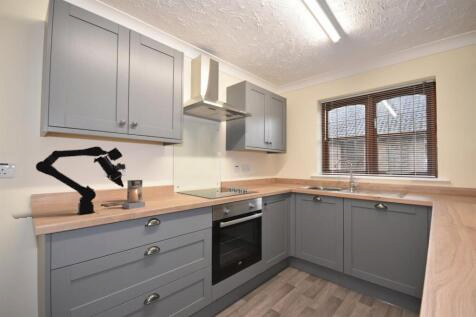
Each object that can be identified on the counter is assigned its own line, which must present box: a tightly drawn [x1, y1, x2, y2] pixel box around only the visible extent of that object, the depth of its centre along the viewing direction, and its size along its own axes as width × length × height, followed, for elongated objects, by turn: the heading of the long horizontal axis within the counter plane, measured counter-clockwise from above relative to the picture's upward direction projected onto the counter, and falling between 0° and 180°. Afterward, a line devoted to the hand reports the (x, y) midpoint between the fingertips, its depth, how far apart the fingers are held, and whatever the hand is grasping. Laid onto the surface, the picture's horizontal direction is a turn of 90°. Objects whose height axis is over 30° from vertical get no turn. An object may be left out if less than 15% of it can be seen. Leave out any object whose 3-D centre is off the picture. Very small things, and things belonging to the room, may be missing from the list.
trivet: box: [100, 201, 122, 208], centre depth 151 cm, size 12×12×2 cm
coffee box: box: [126, 179, 143, 202], centre depth 174 cm, size 9×6×16 cm
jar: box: [128, 186, 139, 204], centre depth 142 cm, size 6×6×13 cm
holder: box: [121, 200, 146, 210], centre depth 141 cm, size 10×10×4 cm
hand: (121, 186), depth 139 cm, fingers open, 9 cm apart
